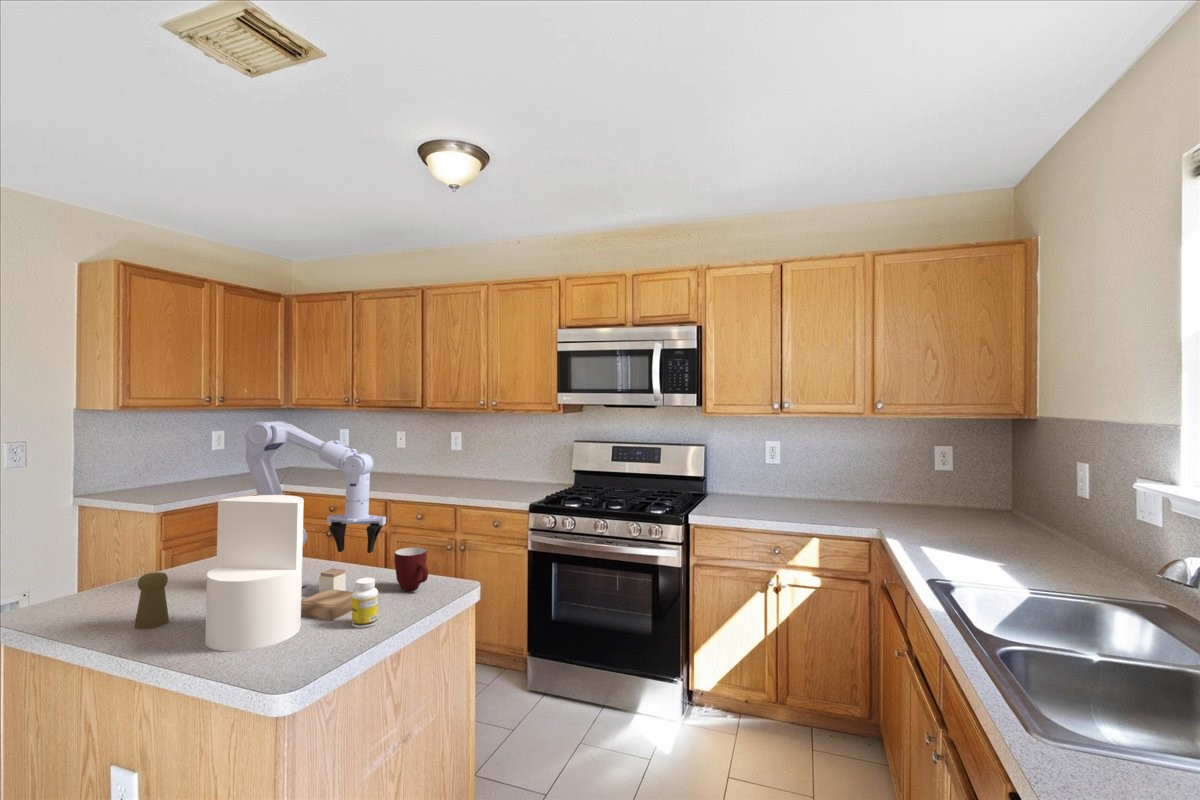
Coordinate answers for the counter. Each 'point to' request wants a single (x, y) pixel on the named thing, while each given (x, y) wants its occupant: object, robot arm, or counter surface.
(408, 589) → the mug
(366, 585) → the supplement bottle
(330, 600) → the tan square tray
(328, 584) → the beige rectangular block
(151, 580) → the cork
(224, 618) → the cream chair shape
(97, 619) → the counter surface
